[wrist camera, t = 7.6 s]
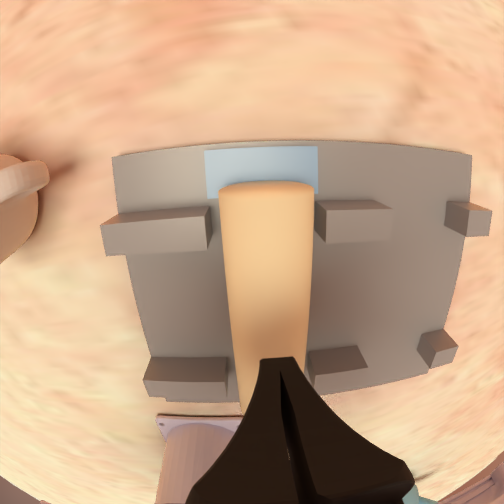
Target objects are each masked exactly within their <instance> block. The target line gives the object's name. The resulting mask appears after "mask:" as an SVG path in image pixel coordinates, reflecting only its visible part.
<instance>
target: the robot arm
mask: <svg viewBox="0 0 504 504" xmlns="http://www.w3.org/2000/svg"><path fill="white" fill-rule="evenodd" d="M155 421H156V423H157V425H158V427H159V429H160V431H161V434H162V436H163V438H164V440H165V442H166V447H165V452H164V457H163V463H162V468H161V473H160V479H159V484H158V490H157V495H156V501H155V504H404V502H403V499H402V498H403V497H404V496H405V495H406V494H407V493H408V492H409V491H410V490H411V489H412V488H413V486H414V484H415V481H414V478H413V476H412V473H411V472H410V470H409V468H408V467H407V465H406V463H405V462H404V461H403V460H401V459H399V458H397V457H395V456H393V455H391V454H389V453H387V452H385V451H383V450H382V449H380V448H378V447H377V446H375V445H374V444H372V443H371V442H369V441H368V440H366V439H365V438H364V437H362V436H361V435H359V434H358V433H357V432H355V431H354V430H353V429H352V428H351V427H349V426H348V425H347V424H346V423H345V422H344V421H343V420H341V419H340V418H339V417H338V416H337V415H336V414H335V413H334V412H333V411H332V410H331V409H330V407H329V406H328V405H327V404H326V403H325V402H324V401H323V400H322V398H321V397H320V396H319V395H318V393H317V392H316V391H315V389H314V388H313V387H312V385H311V384H310V383H309V381H308V380H307V378H306V377H305V375H304V374H303V372H302V370H301V369H300V367H299V365H298V363H297V362H296V360H295V358H294V357H293V356H290V357H278V358H264V359H261V360H260V361H259V373H258V377H257V382H256V385H255V388H254V392H253V395H252V398H251V400H250V403H249V405H248V407H247V410H246V412H245V414H244V417H243V418H242V417H179V416H163V415H158V416H156V418H155ZM287 449H288V450H287ZM288 454H289V455H288ZM289 459H290V460H289ZM40 504H50V503H48V502H46V501H44V500H41V501H40ZM437 504H504V462H502V463H501V464H500V465H499V466H498V467H496V468H495V469H494V470H493V472H492V473H491V474H490V475H488V476H487V477H485V478H483V479H482V480H480V481H479V482H477V483H475V484H473V485H472V486H470V487H468V488H466V489H464V490H463V491H461V492H459V493H457V494H455V495H453V496H451V497H449V498H447V499H445V500H443V501H441V502H439V503H437Z"/></svg>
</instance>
